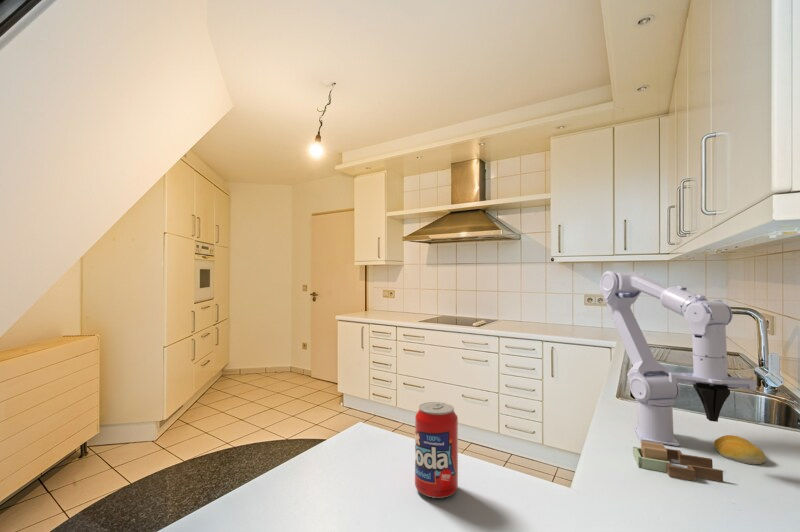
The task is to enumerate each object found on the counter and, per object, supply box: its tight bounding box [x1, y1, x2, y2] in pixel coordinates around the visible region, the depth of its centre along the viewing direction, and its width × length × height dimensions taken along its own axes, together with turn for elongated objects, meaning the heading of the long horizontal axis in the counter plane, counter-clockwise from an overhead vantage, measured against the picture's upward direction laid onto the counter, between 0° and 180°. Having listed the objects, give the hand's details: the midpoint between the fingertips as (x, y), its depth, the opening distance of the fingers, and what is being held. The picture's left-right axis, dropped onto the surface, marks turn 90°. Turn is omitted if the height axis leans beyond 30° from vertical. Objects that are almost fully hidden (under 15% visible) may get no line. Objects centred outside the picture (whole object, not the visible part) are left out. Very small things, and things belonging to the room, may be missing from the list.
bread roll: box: [713, 434, 767, 465], centre depth 84 cm, size 8×9×4 cm
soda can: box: [414, 401, 459, 499], centre depth 68 cm, size 8×8×15 cm
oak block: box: [640, 440, 667, 461], centre depth 79 cm, size 4×4×4 cm
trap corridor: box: [632, 446, 724, 483], centre depth 78 cm, size 10×14×2 cm
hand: (712, 420), depth 80 cm, fingers closed
